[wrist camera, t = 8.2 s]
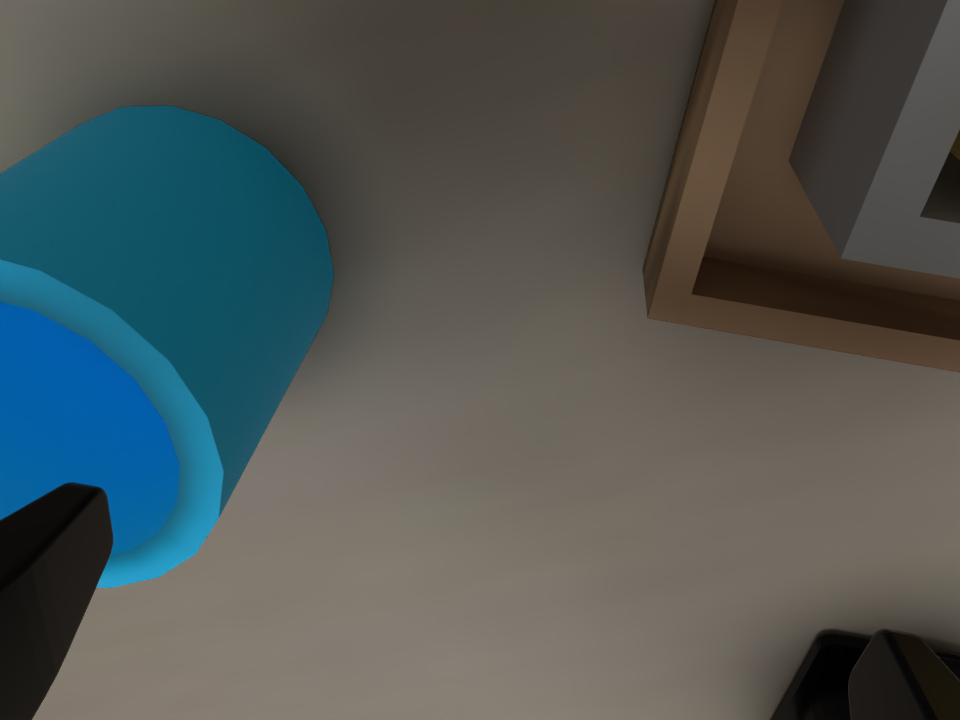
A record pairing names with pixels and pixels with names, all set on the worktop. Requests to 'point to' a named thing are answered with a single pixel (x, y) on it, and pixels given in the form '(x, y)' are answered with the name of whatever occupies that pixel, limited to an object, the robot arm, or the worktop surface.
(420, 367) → the worktop surface
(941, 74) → the socket
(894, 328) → the walled box
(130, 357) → the mug
